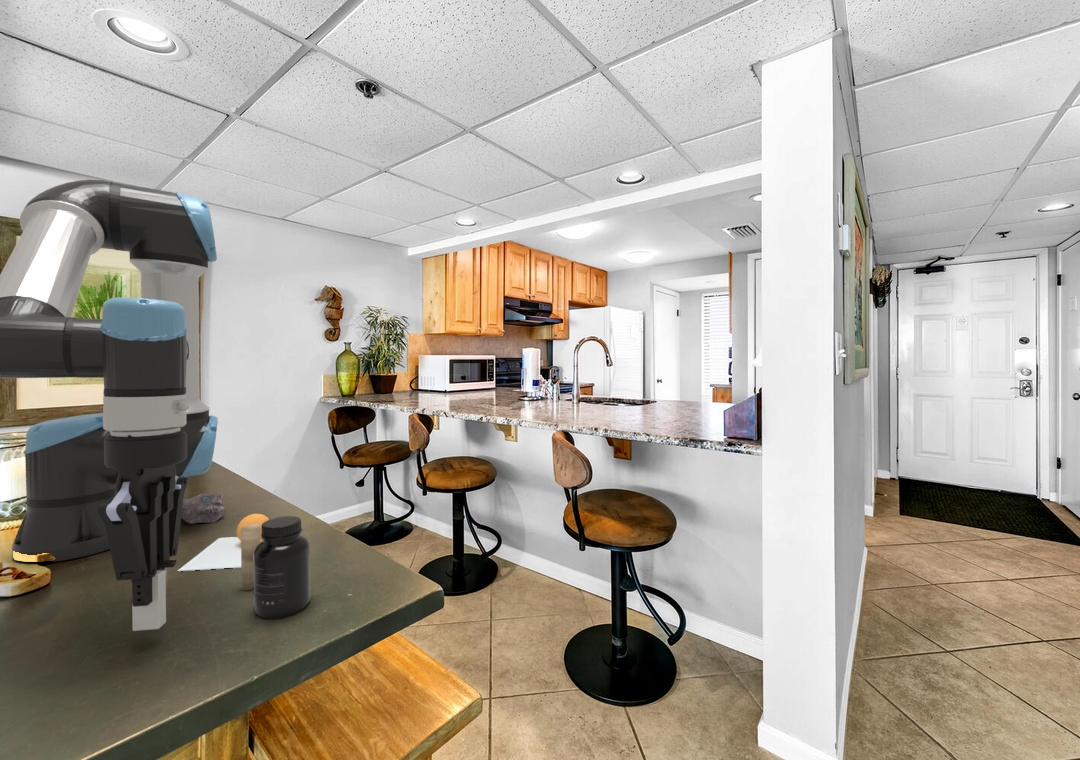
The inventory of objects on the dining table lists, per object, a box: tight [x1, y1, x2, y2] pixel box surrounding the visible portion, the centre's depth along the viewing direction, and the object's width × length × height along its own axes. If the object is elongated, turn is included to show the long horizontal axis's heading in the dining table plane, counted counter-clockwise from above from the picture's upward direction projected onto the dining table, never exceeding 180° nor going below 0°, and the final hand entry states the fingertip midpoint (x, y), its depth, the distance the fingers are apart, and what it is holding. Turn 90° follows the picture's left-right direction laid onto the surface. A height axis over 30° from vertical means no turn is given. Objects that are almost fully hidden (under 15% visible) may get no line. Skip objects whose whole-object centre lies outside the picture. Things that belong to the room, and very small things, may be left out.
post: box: [240, 524, 261, 591], centre depth 70 cm, size 2×2×9 cm
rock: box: [181, 492, 226, 525], centre depth 100 cm, size 8×11×5 cm
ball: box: [236, 513, 270, 542], centre depth 86 cm, size 6×6×6 cm
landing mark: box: [177, 536, 241, 573], centre depth 83 cm, size 14×14×1 cm
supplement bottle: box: [253, 515, 311, 619], centre depth 64 cm, size 7×7×12 cm
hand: (149, 626), depth 56 cm, fingers closed
